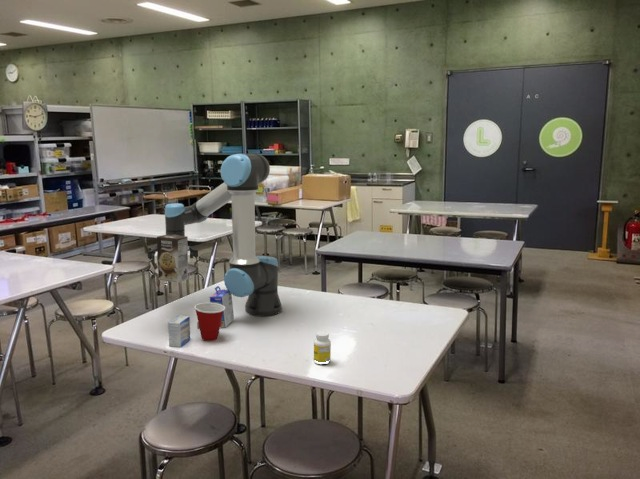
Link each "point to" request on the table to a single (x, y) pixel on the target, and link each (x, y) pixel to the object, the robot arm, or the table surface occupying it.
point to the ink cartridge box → (226, 300)
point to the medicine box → (179, 331)
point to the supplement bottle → (322, 347)
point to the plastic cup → (209, 319)
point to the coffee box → (172, 258)
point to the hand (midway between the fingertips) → (172, 258)
